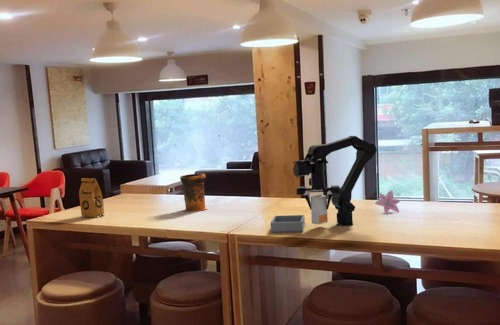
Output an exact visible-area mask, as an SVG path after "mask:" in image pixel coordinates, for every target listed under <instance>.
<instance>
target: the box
mask: <svg viewBox="0 0 500 325" xmlns="http://www.w3.org/2000/svg"><path fill="white" fill-rule="evenodd" d="M305 226H306V222H305V214H297V215H295V214H290V215H289V214H287V215H274V217H273V218H272V219H271V222H270V231H271V234H272V233H273V234H274V233H275V234H276V233H279V234H280V233H282V234H283V233H285V234H286V233H303V232H304V230H305Z"/></svg>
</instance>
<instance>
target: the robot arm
mask: <svg viewBox="0 0 500 325" xmlns="http://www.w3.org/2000/svg"><path fill="white" fill-rule="evenodd" d="M349 147H352V148H353V149H355V150H356V152H355V154H356V156H355V160H354V162H353V164H352V165H351V168H350V170H349V172H348V174H347V176H346V177H345V179H344V182H343V184H342V186H341V187H340V185H339V184H337V185H334V184H332V185H330V187H326V181H325V164H328V163H329V161H328V160H327V159H326V157H327V156H329V155H330V154H331V153H334V152H337V151H339V150H342V149H346V148H349ZM377 151H378V149H377V146H376V145H375V144H374V143H372V142H370V143H369V142H368V141H366V140H363V139H362V138H360V137H359V136H357V135H349V136H347V137H344V138H341V139H337V140H335V141H332V142H329V143H325V144H323V143H322V144H315V145H311V146H309V147H308V150H307V153H306V155H305V157H304V159H303V160H295V161H294V164H293V168H292V171H293V175H294V176H295V177H304V176H305V177H306V176H310V177H309V178H308V185H309V186H310V187H307V186H297V187H296V190H295V191H296V195H297V196H300V195H301V197H304V199H305V200H306V203H307V205H308V208H309V210H310V211H311V196H310V193H327V210H329V207H330V203H331V204H332V205H333V207H334V208H335V210H337V213H336V223H337V224H338V226H352V225H354V221H353V212H355V209H356V205H354V204H353V203H352V202H351V200H352V196H353V195H352V193H353V192H352V191H353V190H354V188H355V186H356V184H357V181H358V180H359V178H360V176H361V174H362V172H363V170H364V168H365V166H366V164H367V163H369V161H371V160H372V159H373V158H374V156H375V155H376V153H377Z"/></svg>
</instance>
